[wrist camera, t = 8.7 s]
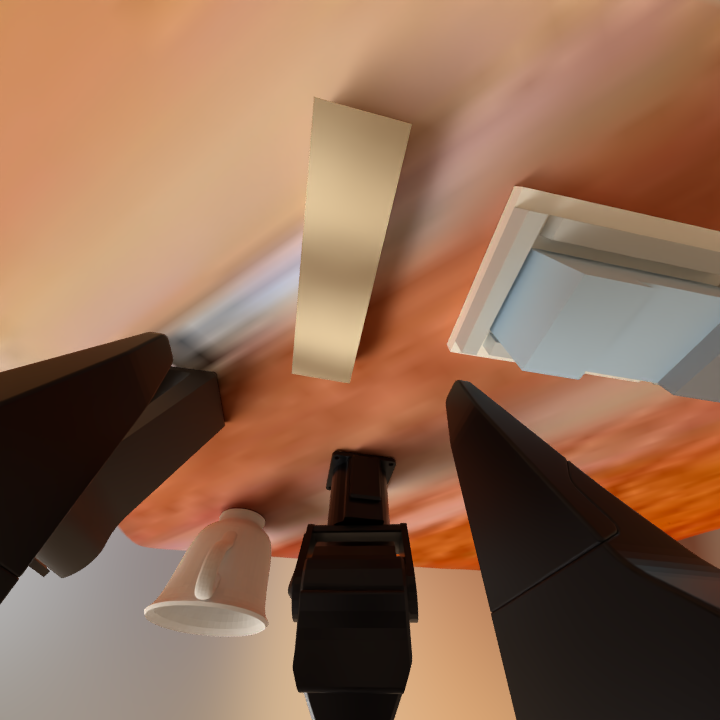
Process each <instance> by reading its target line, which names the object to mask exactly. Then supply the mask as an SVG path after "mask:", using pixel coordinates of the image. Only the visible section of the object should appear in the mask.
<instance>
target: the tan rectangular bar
mask: <svg viewBox="0 0 720 720" xmlns="http://www.w3.org/2000/svg"><path fill="white" fill-rule="evenodd" d="M411 126H412V124H410V123H407V122H403V121H399V120H396V119H392V118H388V117H385V116H381V115H378V114H374V113H370V112H367V111H363V110H360V109H356V108H352V107H349V106H345V105H341V104H338V103H334V102H331V101H327V100H323V99H320V98H316V97H314V103H313V116H312V128H311V141H310V153H309V165H308V178H307V190H306V203H305V215H304V228H303V240H302V252H301V265H300V277H299V290H298V302H297V315H296V327H295V339H294V352H293V364H292V374H297V375H303V376H309V377H315V378H321V379H327V380H333V381H338V382H344V383H350V379H351V375H352V371H353V367H354V363H355V359H356V354H357V350H358V346H359V342H360V338H361V334H362V329H363V325H364V321H365V317H366V313H367V309H368V305H369V300H370V296H371V292H372V288H373V284H374V280H375V276H376V271H377V267H378V263H379V259H380V255H381V251H382V246H383V242H384V238H385V234H386V230H387V226H388V222H389V217H390V213H391V209H392V205H393V201H394V197H395V193H396V188H397V184H398V180H399V176H400V172H401V168H402V163H403V159H404V155H405V151H406V147H407V143H408V139H409V134H410V130H411Z"/></svg>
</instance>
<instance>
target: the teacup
mask: <svg viewBox="0 0 720 720" xmlns="http://www.w3.org/2000/svg"><path fill="white" fill-rule="evenodd" d="M264 525H265V520H264V518H263V517H262V516H261V515H260V514H258V513H256V512H254V511H251V510H248V509H240V508H234V509H228V510H226V511H224V512H223V513H222V514H221V515H220V520H219V521H218V522H215V523H212V524H210V525H208V526H207V527H205V528H204V529H203V530H202V531H201V532H200V533H199V534H198V535H197V536H196V538H195V539H194V541H193V542H192V544H191V545H190V547H189V548H188V550H187V551H186V553H185V556H184V557H183V558H182V560H181V562H180V563H179V565H178V567H177V569H176V571H175V572H174V574H173V575H172V577H171V579H170V581H169V582H168V584H167V585H166V587H165V588H164V590H163V591H162V593H161V594H160V596H159V597H158V598H157V600H155V601H154V602H153V603H152V604H151V605H149V606H148V607H147V608H145V610H144V614H145V617H146V619H147V620H149V621H150V622H152V623H154V624H156V625H158V626H161V627H164V628H167V629H171V630H174V631H179V632H184V633H189V634H196V635H205V636H221V637H235V636H247V635H252V634H256V633H259V632H261V631H263V630H264V629H265V628H266V627H267V626H268V620H267V618H266V615H265V600H266V591H267V583H268V577H269V570H270V562H271V561H270V560H271V542H270V539H269V537H268V535H267V534H266V532H265V531H264V530H263V527H264Z"/></svg>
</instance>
